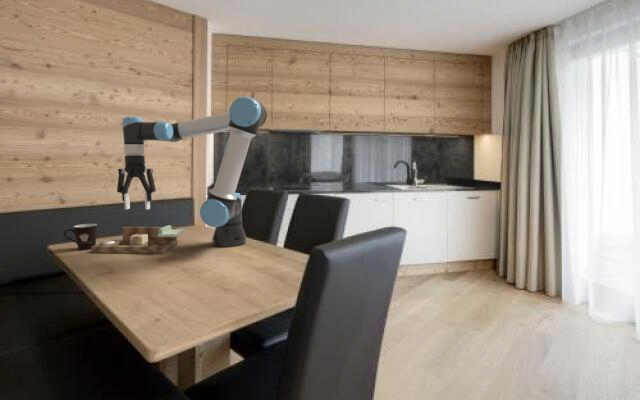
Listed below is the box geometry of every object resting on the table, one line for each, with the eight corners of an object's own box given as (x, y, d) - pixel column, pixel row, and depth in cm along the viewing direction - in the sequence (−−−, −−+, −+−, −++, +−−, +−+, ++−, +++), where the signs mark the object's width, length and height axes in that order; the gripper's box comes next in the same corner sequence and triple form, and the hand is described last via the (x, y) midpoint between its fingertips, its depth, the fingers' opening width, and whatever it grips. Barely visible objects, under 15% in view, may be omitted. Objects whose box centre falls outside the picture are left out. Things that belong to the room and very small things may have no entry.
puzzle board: (177, 245, 173) (176, 227, 172) (163, 253, 159) (162, 233, 158) (111, 244, 174) (110, 226, 173) (92, 252, 160) (90, 233, 159)
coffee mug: (102, 246, 172) (101, 223, 170) (89, 251, 163) (87, 227, 162) (78, 245, 173) (76, 223, 172) (63, 250, 164) (61, 227, 163)
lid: (184, 231, 170) (184, 224, 170) (174, 236, 159) (174, 229, 159) (169, 231, 171) (168, 224, 170) (157, 236, 160) (157, 229, 159)
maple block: (148, 247, 169) (147, 234, 168) (142, 250, 164) (141, 236, 163) (137, 247, 169) (136, 234, 168) (131, 250, 164) (130, 236, 163)
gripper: (163, 154, 165) (165, 207, 168) (115, 155, 166) (118, 207, 169) (155, 154, 158) (157, 210, 160) (104, 155, 159) (108, 210, 161)
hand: (137, 208), depth 164 cm, fingers open, 8 cm apart
